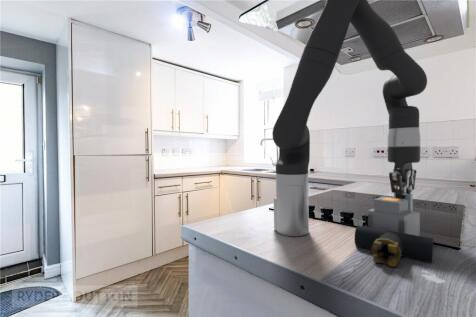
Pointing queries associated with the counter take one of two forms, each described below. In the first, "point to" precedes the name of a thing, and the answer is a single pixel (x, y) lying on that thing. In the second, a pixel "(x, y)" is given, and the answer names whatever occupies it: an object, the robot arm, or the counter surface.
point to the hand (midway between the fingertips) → (403, 206)
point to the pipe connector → (393, 245)
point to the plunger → (390, 199)
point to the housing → (394, 217)
